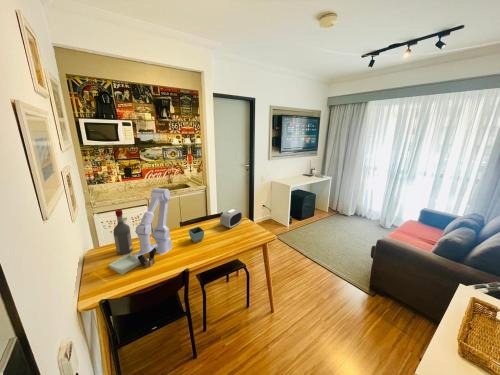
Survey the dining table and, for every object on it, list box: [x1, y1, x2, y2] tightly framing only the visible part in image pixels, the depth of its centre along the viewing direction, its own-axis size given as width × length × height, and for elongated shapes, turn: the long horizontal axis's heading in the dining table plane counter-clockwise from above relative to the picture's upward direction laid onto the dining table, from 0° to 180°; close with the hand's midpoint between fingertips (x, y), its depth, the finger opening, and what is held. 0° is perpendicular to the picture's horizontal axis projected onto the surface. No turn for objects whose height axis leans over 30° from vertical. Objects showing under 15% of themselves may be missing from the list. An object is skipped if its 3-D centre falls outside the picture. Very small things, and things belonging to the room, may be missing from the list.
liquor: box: [112, 209, 134, 257], centre depth 134 cm, size 9×9×30 cm
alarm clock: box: [219, 208, 244, 229], centre depth 179 cm, size 21×10×13 cm, turn 147°
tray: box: [108, 253, 141, 276], centre depth 124 cm, size 13×13×3 cm
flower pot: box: [188, 226, 205, 244], centre depth 152 cm, size 9×9×9 cm
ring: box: [142, 255, 156, 269], centre depth 125 cm, size 6×6×3 cm
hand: (147, 262), depth 125 cm, fingers closed on ring, 5 cm apart
